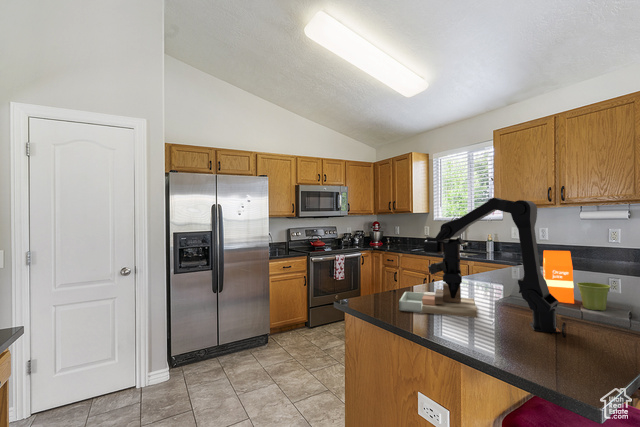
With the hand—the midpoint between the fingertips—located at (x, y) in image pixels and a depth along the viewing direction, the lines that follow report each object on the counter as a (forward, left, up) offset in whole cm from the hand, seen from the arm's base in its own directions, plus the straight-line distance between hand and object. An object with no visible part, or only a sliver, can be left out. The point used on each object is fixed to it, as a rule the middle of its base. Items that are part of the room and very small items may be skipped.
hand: (452, 296), depth 115 cm
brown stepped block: (0, +2, -1) cm, 2 cm away
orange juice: (+27, -40, -5) cm, 48 cm away
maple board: (0, +1, -5) cm, 5 cm away
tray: (0, +15, -5) cm, 15 cm away
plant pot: (+17, -48, -5) cm, 51 cm away
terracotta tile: (-4, +8, -2) cm, 9 cm away
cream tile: (+3, +8, -2) cm, 9 cm away
